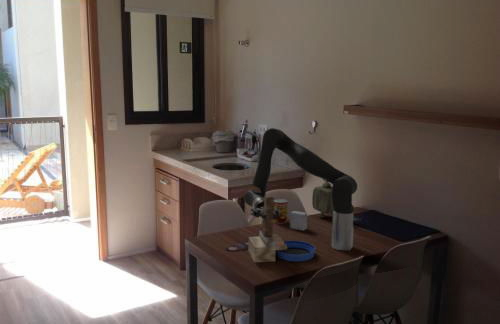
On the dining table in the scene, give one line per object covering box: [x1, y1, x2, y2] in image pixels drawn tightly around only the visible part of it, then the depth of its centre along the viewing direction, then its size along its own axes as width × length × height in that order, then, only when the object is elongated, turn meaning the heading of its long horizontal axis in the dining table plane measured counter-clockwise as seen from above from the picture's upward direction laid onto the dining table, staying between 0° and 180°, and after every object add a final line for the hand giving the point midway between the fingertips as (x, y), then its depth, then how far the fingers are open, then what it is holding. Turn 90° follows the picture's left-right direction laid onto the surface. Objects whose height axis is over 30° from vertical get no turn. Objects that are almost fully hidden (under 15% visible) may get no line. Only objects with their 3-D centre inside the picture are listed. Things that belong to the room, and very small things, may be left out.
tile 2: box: [273, 236, 283, 241], centre depth 196 cm, size 4×4×1 cm
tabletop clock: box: [311, 179, 333, 219], centre depth 255 cm, size 14×9×25 cm, turn 32°
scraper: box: [258, 194, 276, 247], centre depth 194 cm, size 4×15×20 cm, turn 10°
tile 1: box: [276, 240, 284, 246], centre depth 192 cm, size 4×4×1 cm
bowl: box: [275, 240, 316, 262], centre depth 199 cm, size 18×18×4 cm
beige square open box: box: [247, 235, 287, 263], centre depth 196 cm, size 14×14×6 cm
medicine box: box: [289, 210, 308, 231], centre depth 235 cm, size 8×4×9 cm, turn 58°
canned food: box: [273, 198, 289, 225], centre depth 247 cm, size 8×8×12 cm
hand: (270, 217), depth 191 cm, fingers closed on scraper, 3 cm apart
